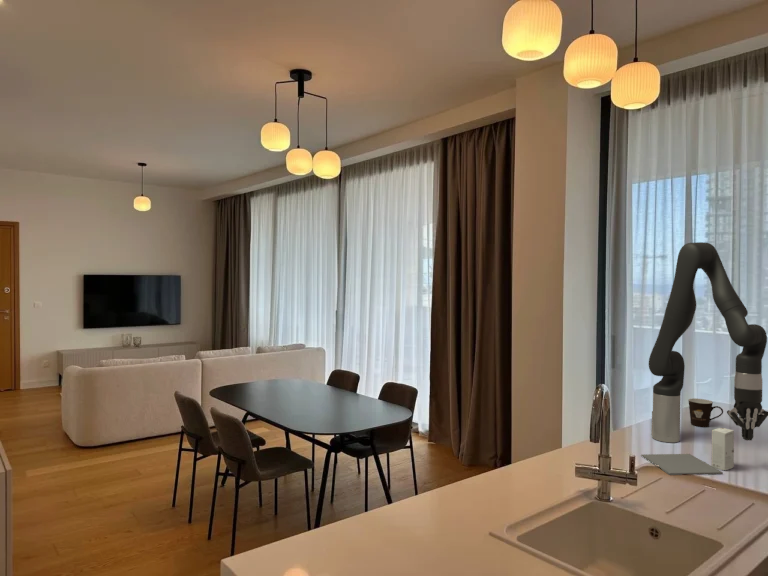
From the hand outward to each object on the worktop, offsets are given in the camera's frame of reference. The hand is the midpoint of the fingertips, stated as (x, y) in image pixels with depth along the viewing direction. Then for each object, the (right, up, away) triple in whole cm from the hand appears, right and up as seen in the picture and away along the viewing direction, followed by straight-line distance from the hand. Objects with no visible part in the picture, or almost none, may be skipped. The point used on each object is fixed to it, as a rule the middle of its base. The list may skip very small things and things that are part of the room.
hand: (747, 439), depth 176 cm
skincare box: (-8, -9, 0) cm, 12 cm away
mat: (-21, -9, +2) cm, 22 cm away
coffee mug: (+13, -8, +46) cm, 48 cm away
